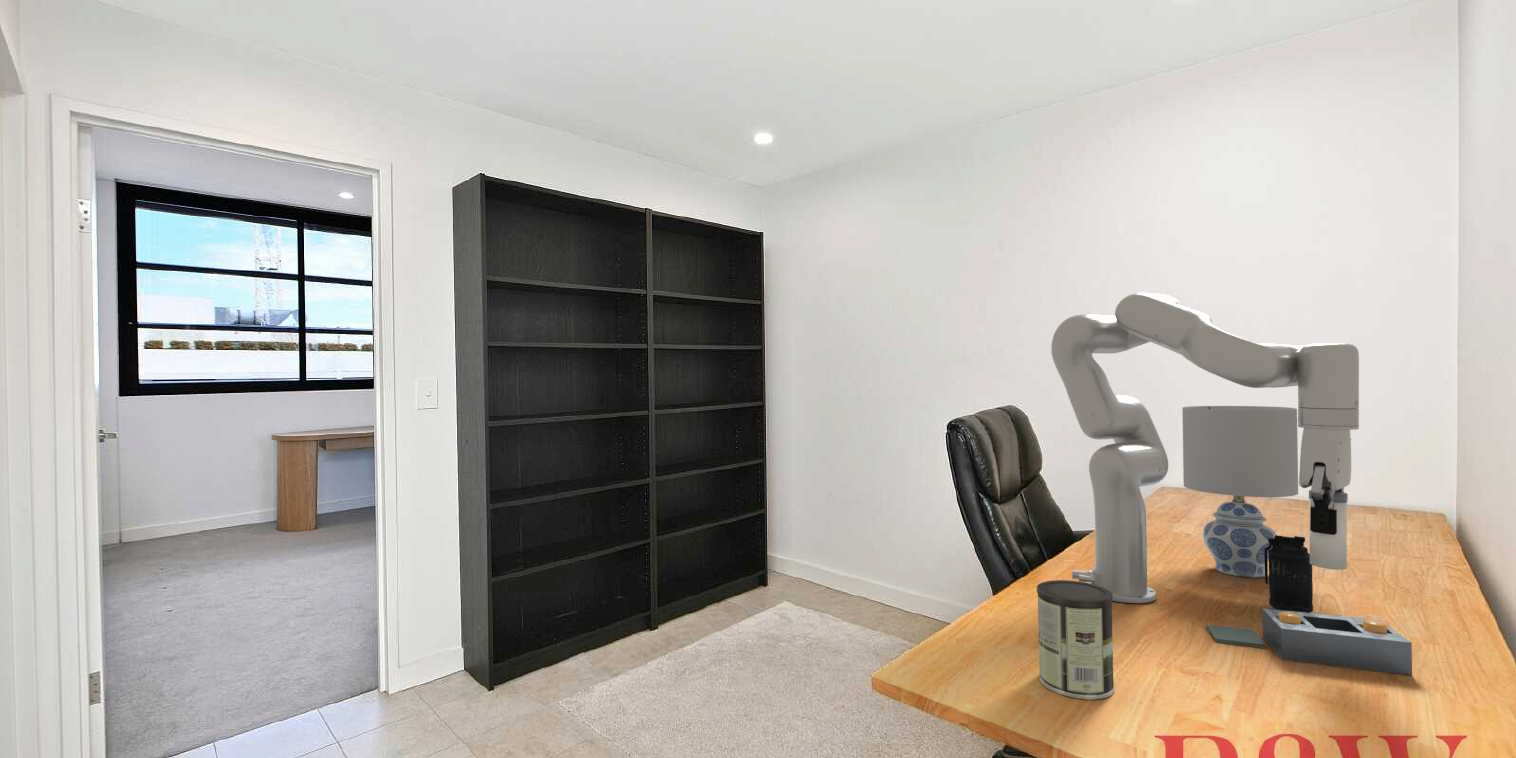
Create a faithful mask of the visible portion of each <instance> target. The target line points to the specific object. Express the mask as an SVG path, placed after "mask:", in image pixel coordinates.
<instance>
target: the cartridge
mask: <svg viewBox="0 0 1516 758" xmlns="http://www.w3.org/2000/svg"><path fill="white" fill-rule="evenodd" d="M1324 494H1326V493H1324ZM1327 496H1328V497H1329V494H1327ZM1348 498H1349V496H1348V493H1347V492H1345V491H1344V492H1339V491H1335V503H1334V510H1337V533H1336V534H1335V535H1330V534H1323V533H1316V532H1312V531H1311V530H1310V529H1309V554H1310V564H1311V565H1312V567H1313V566H1314V567H1317V568H1322V569H1328V570H1337V571H1339V570H1340V571H1344V570H1347V569H1348V564H1347V563H1348V560H1347V558H1348V557H1347V556H1348V555H1347V554H1348V550H1347V548H1348V547H1347V546H1348V536H1347V535H1348V520H1347V519H1348V517H1347V516H1348V514H1347V513H1348V512H1347V511H1348V510H1347V509H1348V507H1347V505H1348V502H1349V501H1348V500H1349V499H1348ZM1308 499H1309V508H1310V507H1311V489H1309V490H1308ZM1328 500H1329V498H1328Z"/></svg>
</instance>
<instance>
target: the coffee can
mask: <svg viewBox="0 0 1516 758" xmlns="http://www.w3.org/2000/svg"><path fill="white" fill-rule="evenodd" d="M1036 592H1037V616H1038V617H1037V621H1038V623H1037V624H1038V660H1039V667H1038V668H1039V673H1038V674H1039V676H1038V679H1039V683H1041V684H1042V685H1043V687H1045V688H1046V689H1047V690H1050V691H1052V692H1054V693H1056V694H1058V695H1062V696H1064V697H1066V698H1072V699H1076V700H1078V699H1079V700H1085V701H1086V700H1088V701H1089V700H1090V701H1094V700H1095V701H1096V700H1103V699H1107V698H1109V697H1111V696H1112V695H1113V694H1114V693H1115V685H1114V684H1115V683H1114V655H1113V654H1114V649H1113V648H1114V646H1113V612H1112V611H1113V605H1112V604H1113V601H1112V600H1113V595H1112V593H1111V592H1110V591H1109V590H1107V589H1105V588H1103V587H1100V586H1097V585H1094V584H1090V582H1081V581H1079V580H1078V581H1077V580H1067V579H1066V580H1065V579H1064V580H1063V579H1059V580H1058V579H1057V580H1054V579H1053V580H1047V581H1042V582H1040V583H1039V584H1037V585H1036Z"/></svg>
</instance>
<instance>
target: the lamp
mask: <svg viewBox="0 0 1516 758" xmlns="http://www.w3.org/2000/svg"><path fill="white" fill-rule="evenodd" d="M1181 410H1182V461H1183V463H1182V464H1183V465H1182V468H1183V472H1182V473H1183V476H1182V477H1183V487H1185V488H1187V489H1189V490H1193V491H1198V492H1201V493H1206V494H1207V493H1208V494H1216V495H1223V496H1232V497H1233V498H1232V500H1231V501H1226V502H1223V503H1221V504H1220V505H1219V506H1218V507H1217V510H1216V511H1215V512H1213V513H1212V515H1211V516H1212V517H1214V518H1215V519H1214V520H1211V521H1209V522H1208V523H1206V524H1205V526H1204V528H1203V530H1202V540H1203V542H1204V545H1205V546H1206V549H1207V550H1208V552H1209V553H1210V555H1211V556H1212V558H1213V559H1214V561H1215V562H1214V563H1215V565H1214V569H1215V570H1216V571H1218V572H1219V573H1222V574H1226V575H1228V576H1234V577H1240V578H1241V577H1242V578H1264V577H1265V559H1264V549H1265V548H1266V547H1268V546H1269V542H1268V539H1269V538H1274V537H1275V535H1277V533H1276V532H1275V531H1274V530H1273V529H1272V528H1271V527H1270V526H1267V525H1266V524H1264V523H1265V522H1267V521H1268V519H1267V517H1265V516H1263V514H1262V512H1261V511H1260V509H1259V508H1258V507H1257V506H1256V505H1254V504H1252V503H1249V502H1246V500H1245V497H1249V498H1250V497H1251V498H1286V497H1287V498H1288V497H1294V496H1297V495H1299V462H1298V460H1299V457H1298V456H1299V453H1298V451H1299V450H1298V443H1299V442H1298V440H1299V439H1298V407H1297V408H1296V407H1286V406H1284V407H1283V406H1265V405H1263V406H1262V405H1261V406H1259V405H1257V406H1256V405H1191V406H1182V408H1181ZM1271 549H1272V548H1271ZM1269 550H1270V549H1269ZM1267 561H1268V563H1269V554H1268V551H1267Z"/></svg>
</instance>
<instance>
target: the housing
mask: <svg viewBox="0 0 1516 758" xmlns="http://www.w3.org/2000/svg"><path fill="white" fill-rule="evenodd" d="M1261 611H1262V612H1261V622H1262V624H1261V625H1262V639H1264V641H1265V642H1266V643H1267V644H1268V645H1269V646H1270V648H1271V649H1272V650H1273V651H1274V652H1275V654H1277V656H1278V657H1279V658H1280V659H1281V660H1282V661H1290V662H1300V663H1307V664H1314V665H1322V666H1331V667H1341V668H1348V669H1356V670H1362V671H1363V670H1364V671H1371V672H1381V673H1388V674H1395V675H1397V674H1398V675H1404V676H1411V677H1412V676H1413V651H1412V650H1413V648H1412V647H1413V645H1412V641H1410V640H1409V639H1407V638H1406V637H1404V636H1403V635H1402V634H1400V633H1399V632H1397V631H1396V630H1395V629H1393V628H1392V627H1390V626H1389V625H1388V624H1386V623H1385V622H1384V621H1382V620H1380V619H1373V618H1362V617H1354V616H1343V615H1333V614H1332V615H1331V614H1322V613H1312V612H1311V613H1304V612H1294V611H1284V610H1276V609H1275V608H1273V609H1272V608H1263V607H1262V609H1261ZM1279 612H1290V613H1295V614H1298V615H1300V616H1301V624H1294V623H1285V622H1280V621H1279ZM1364 620H1372V621H1378V622H1381V623H1384V624H1386V625H1387V633H1379V632H1370V631H1365V630H1364V629H1363V621H1364Z"/></svg>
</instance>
